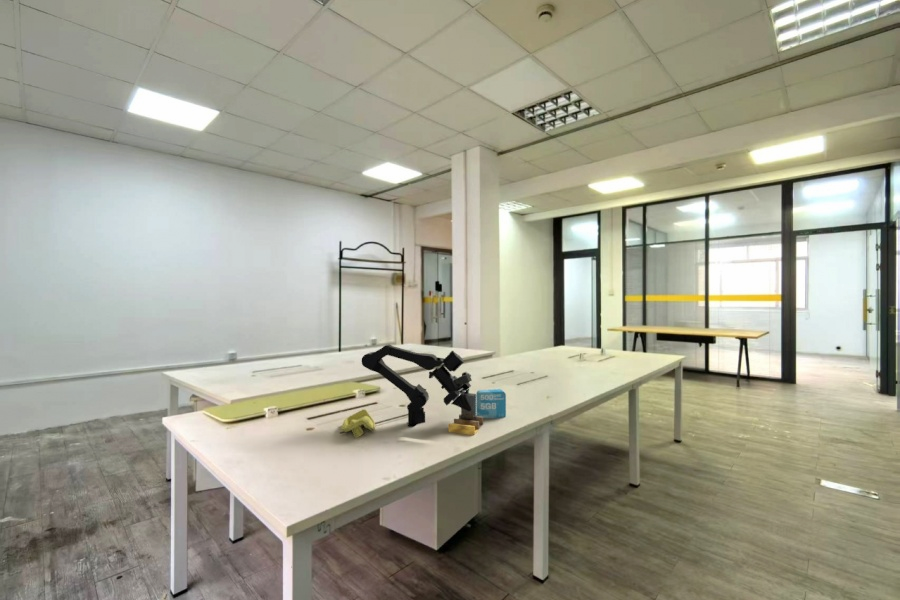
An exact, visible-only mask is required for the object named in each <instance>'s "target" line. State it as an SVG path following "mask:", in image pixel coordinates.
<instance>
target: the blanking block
mask: <svg viewBox="0 0 900 600" xmlns="http://www.w3.org/2000/svg"><path fill="white" fill-rule="evenodd" d="M464 399H465V401H466V402H467V404H468V405H469V406H470V408H471V411H470V412H469V411H467V410H465V409H463V408H461V407H460V410H461V411H460V412H461V413H460V414H461V419H463V420H472V421H476V416H477V414H476V393H471V392H469V393H464Z"/></svg>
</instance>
